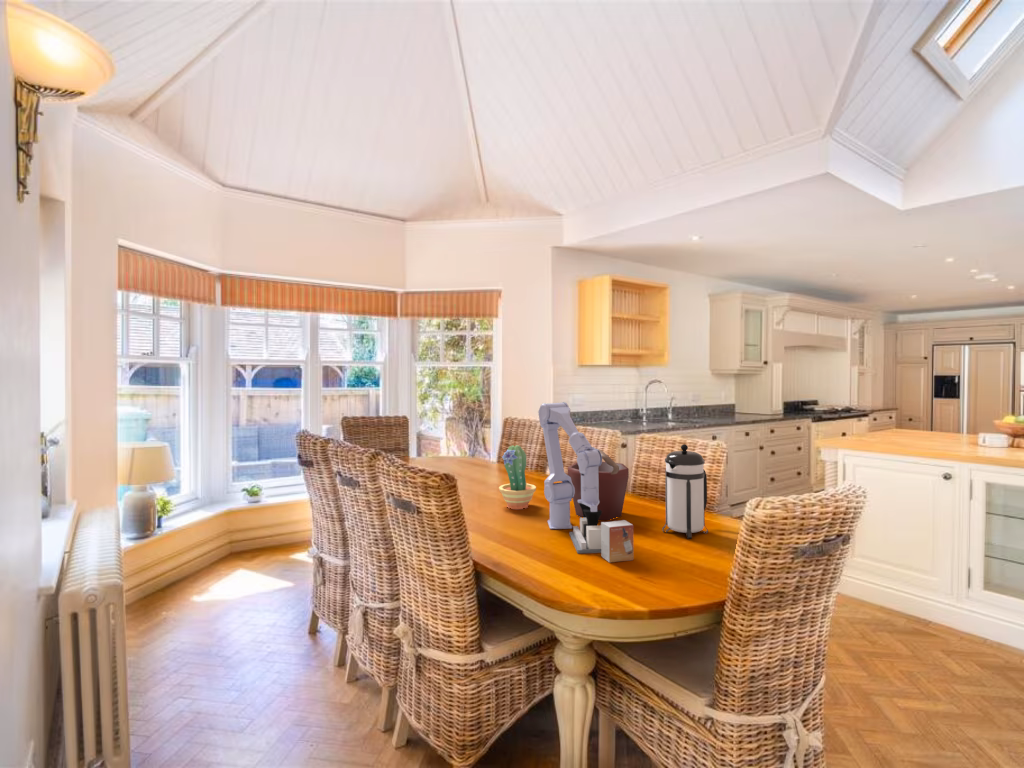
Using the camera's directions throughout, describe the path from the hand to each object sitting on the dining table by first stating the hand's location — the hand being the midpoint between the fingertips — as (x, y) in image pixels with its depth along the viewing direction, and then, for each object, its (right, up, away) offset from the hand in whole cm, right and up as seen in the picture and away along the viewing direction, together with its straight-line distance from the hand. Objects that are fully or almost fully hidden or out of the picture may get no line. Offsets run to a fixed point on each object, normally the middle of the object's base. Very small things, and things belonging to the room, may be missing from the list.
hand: (590, 528), depth 172 cm
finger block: (-1, -3, 0) cm, 3 cm away
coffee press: (+34, -4, +8) cm, 35 cm away
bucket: (+7, -3, +30) cm, 31 cm away
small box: (+6, -5, -16) cm, 18 cm away
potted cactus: (-23, -3, +44) cm, 50 cm away
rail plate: (0, -4, -2) cm, 5 cm away
